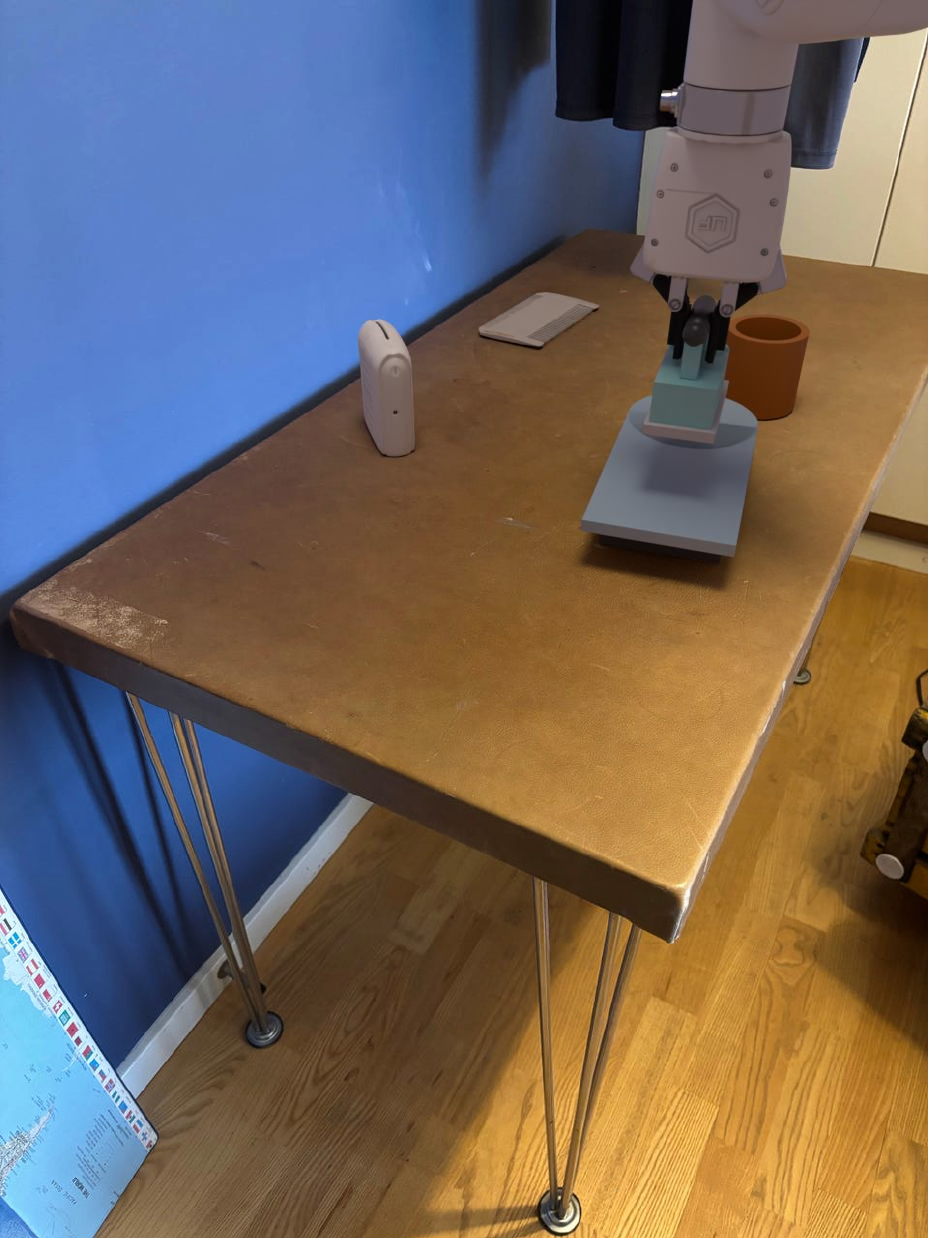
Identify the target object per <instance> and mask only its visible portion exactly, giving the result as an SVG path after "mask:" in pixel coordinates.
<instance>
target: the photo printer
mask: <svg viewBox="0 0 928 1238" xmlns="http://www.w3.org/2000/svg"><path fill="white" fill-rule="evenodd" d="M357 346H358V355H359V356H358V357H359V369H360V381H361V394H362V406H363V407H362V409H363V417H364V422H365V424H366V426H367V429H368V431H369V433H370V435H371V437H372V439H373V442H374V444H375V445H376V447H377V449H378V450H379V452H380V453H381V454H382V455H386V456H387V457H402V456H406V455H409V454H410V453H411V452H412V451H414V450H415V445H416V444H415V443H416V435H415V434H416V433H415V432H416V431H415V410H414V409H415V407H414V405H415V404H414V386H413V385H414V383H413V365H412V359H411V355H410V352H409V350H408V347H407V346H406V342H405V341H404V339H403V338H402V336H401V335H400V333H399V331H398V330H397V329H396V328H395V327H394V326H393V325H392V324H391V323H390V322H388V321H386V320H383V319H381V318H380V319H379V318H378V319H375V320H371V319H369V320H366V321H365V322H364V323H363V324H362V325H361V327H360V329H359V331H358V335H357Z"/></svg>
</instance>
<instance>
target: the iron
mask: <svg viewBox="0 0 928 1238" xmlns="http://www.w3.org/2000/svg"><path fill="white" fill-rule="evenodd" d="M717 304H718V302H717V301H716V299H715V298H714V297H713V296H711V295H708V294H703V295H700V296H698V297H697V298H696V299H695V300H694V302H693V304H692V307H691V312H690V314H689V317H688V320H687V322H686V325H685V327H684V330H683V333H682V337H683V341H684V349H683V355H682V358H679V360H676V359H672V358H673V350H674V345H667V346H668V347H667V349H666V352H665V354H664V356H663V359H662V361H661V364H660V366H659V368H658V370H657V372H656V375H655V378H654V380H653V385H652V394H651V395H652V401H651V406H650V408H649V411H648V413H647V416H646V418H645V421H644V424H643V430H642V434H645V435H652V436H660V437H667V438H674V439H681V440H689V441H696V442H703V443H711V444H713V443H714V440H715V437H716V433H717V429H718V425H719V421H720V417H721V413H722V409H723V405H724V401H725V397H726V394H727V389H728V384H729V381H727V380H724V377H725V372H726V366H727V360H728V354H729V347H728V346H727V344H726V347H725V350H724V351H718V350H717V352H716V355H715V358H714V362H713V364H710V363H707V361H705V355H706V349H707V343H708V336H709V331H710V324H711V318H712V315H713V312H714V309H715V307H717Z"/></svg>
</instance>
